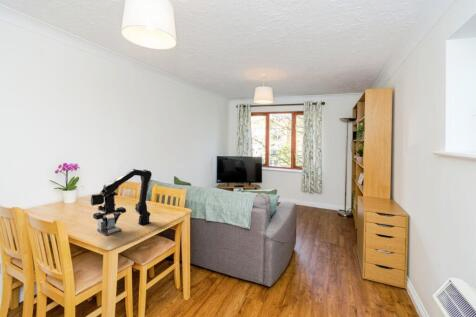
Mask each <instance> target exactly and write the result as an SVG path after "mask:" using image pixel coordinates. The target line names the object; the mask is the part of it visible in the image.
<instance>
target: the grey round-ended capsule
mask: <svg viewBox="0 0 476 317" xmlns="http://www.w3.org/2000/svg"><path fill="white" fill-rule="evenodd" d="M115 226H116V224H115V218H114V217H113V218H107V227H106V228H107V229H113V228H115Z"/></svg>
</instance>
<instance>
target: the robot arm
mask: <svg viewBox="0 0 476 317" xmlns="http://www.w3.org/2000/svg"><path fill="white" fill-rule="evenodd" d="M135 176H138V177H140V181H141V185H140V192H139V199H138V200H139V201H138V202H137V203H135V208H134V209H135V211H136V213H137V214H138V215H139V216H138V223H137V224H138V225H140V226H146V225H150V224H151V223H152V222H151V221H150V216H151V213H150V212H149V211H148V205H147V195H148V187H149V183H150V180H151V179H152V176H153V173H152V171H151V170H148V169H143V170H142V169H135V168H132V169H130V170H129V171H127V172H126V173H125V174H123V175H122V176H119V178H116V179H114V180H111V181H110V182H107V183H105V184H103V187H102V189H101V191H100V193H97V194H91V197H90V204H91V206H97V210H98V212H96V213H95V212H94V213H93V215H92V218H93V219H94V220H100V219H102V220H103V222H104V224H105V226H106V227H107V216H109V215H113V218H115V225H117V222H118V220H119V217H120V216H121V215H122V214H124V213H127V208H125V207H123V206H120V207H116V203H115V202H116V200H115V196H118V195H119V194H118V193H117V192H116V191H117V189H119V187H120V186H121V185H123V184H124V183H126V182H128V180H130V179H133V177H135Z"/></svg>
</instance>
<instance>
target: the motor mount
mask: <svg viewBox="0 0 476 317" xmlns="http://www.w3.org/2000/svg"><path fill="white" fill-rule="evenodd" d="M106 217H107V216H106ZM107 218H114V216H108V217H107ZM96 231H97V232H99V233H100V234H101V235H104V236H105V237H107V236H110V235H114V234H116V233H119V232H120V233H121V232H122V231H123V230H122V228H120V227H119V226H116V225H115V228H113V229H107V228H106V226H105V224H104V222H103V220H102V219H99V220H97V229H96Z"/></svg>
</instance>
